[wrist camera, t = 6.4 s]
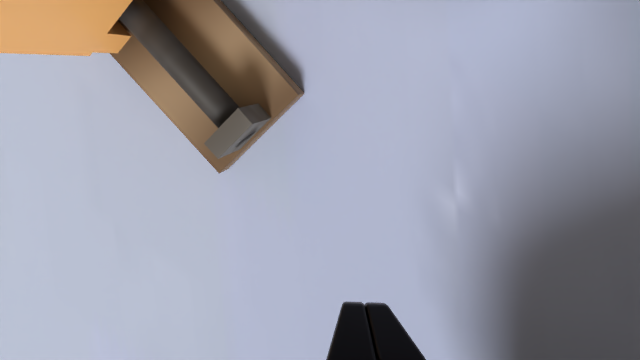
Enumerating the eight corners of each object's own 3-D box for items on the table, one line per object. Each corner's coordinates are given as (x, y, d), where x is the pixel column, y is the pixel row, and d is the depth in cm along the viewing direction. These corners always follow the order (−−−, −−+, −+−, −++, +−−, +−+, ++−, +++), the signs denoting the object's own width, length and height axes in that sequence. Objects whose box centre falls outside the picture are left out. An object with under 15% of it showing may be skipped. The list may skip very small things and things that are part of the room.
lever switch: (304, 93, 20) (269, 100, 15) (228, 168, 21) (177, 194, 17) (111, -121, 19) (20, -176, 15) (49, -29, 21) (-51, -54, 17)
